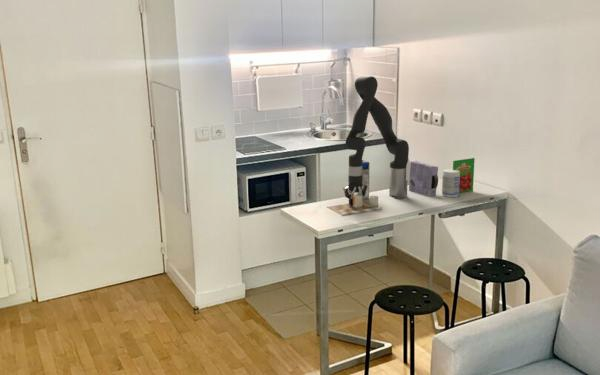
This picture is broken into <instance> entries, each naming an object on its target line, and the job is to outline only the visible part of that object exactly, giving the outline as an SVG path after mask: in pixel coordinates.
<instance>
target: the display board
mask: <svg viewBox="0 0 600 375" xmlns="http://www.w3.org/2000/svg"><path fill="white" fill-rule="evenodd" d="M326 208H327V209H329V210H331V211H333V212H335V213H337V214H338V215H341V217H343V216H349V215H350V216H351V215H357V214H363V213H369V212H374V211H375V212H376V211H380V210H383V206H378V207H376V208H370V202H368V201H366V200H362V206H361V207H353V206H351V205H349V203H345V204H344V203H343V204H335V205H331V206H326Z"/></svg>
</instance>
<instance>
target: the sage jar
mask: <svg viewBox="0 0 600 375" xmlns="http://www.w3.org/2000/svg"><path fill="white" fill-rule="evenodd" d="M369 203H370V208H376V207H379V196H378V195H369Z"/></svg>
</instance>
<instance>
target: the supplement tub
mask: <svg viewBox="0 0 600 375" xmlns="http://www.w3.org/2000/svg"><path fill="white" fill-rule="evenodd" d="M459 182H460V171H459V170H453V168H446V169H443V170H442V181H441V183H442V185H441V195H442V196H443V197H445V198H457V197H459V195H460V194H459Z"/></svg>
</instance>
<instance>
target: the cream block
mask: <svg viewBox="0 0 600 375" xmlns="http://www.w3.org/2000/svg"><path fill="white" fill-rule="evenodd" d="M352 199H353V207H361V206H362V201H363V200H362V195H359V194H357V193H354V195H353V198H352ZM348 204H349V203H348ZM349 205H350V204H349Z"/></svg>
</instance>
